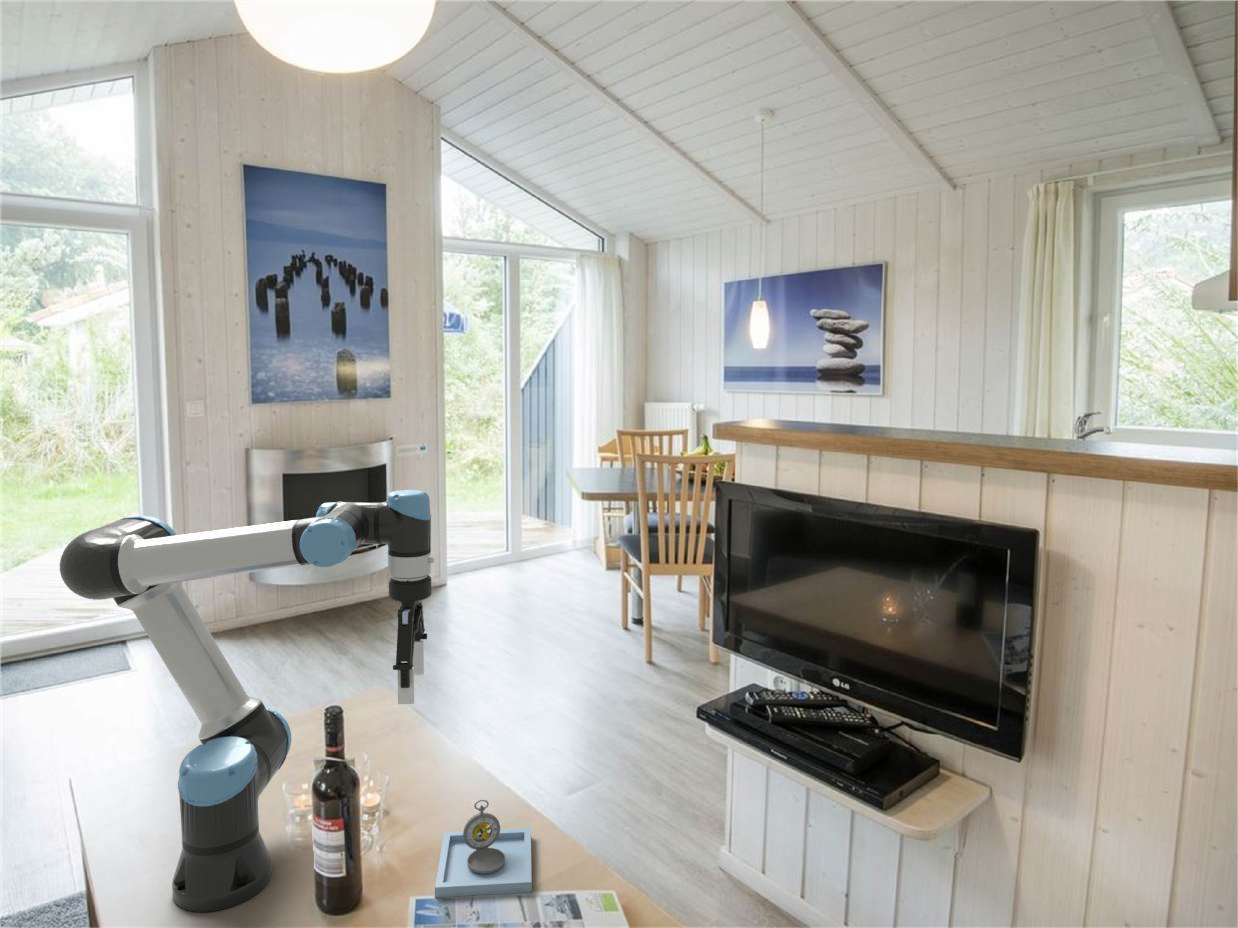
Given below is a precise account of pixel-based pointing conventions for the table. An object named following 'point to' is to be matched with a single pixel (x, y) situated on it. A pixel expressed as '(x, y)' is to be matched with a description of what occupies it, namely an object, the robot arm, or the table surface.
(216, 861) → the robot arm
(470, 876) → the tray
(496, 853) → the pocket watch
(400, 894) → the table surface
